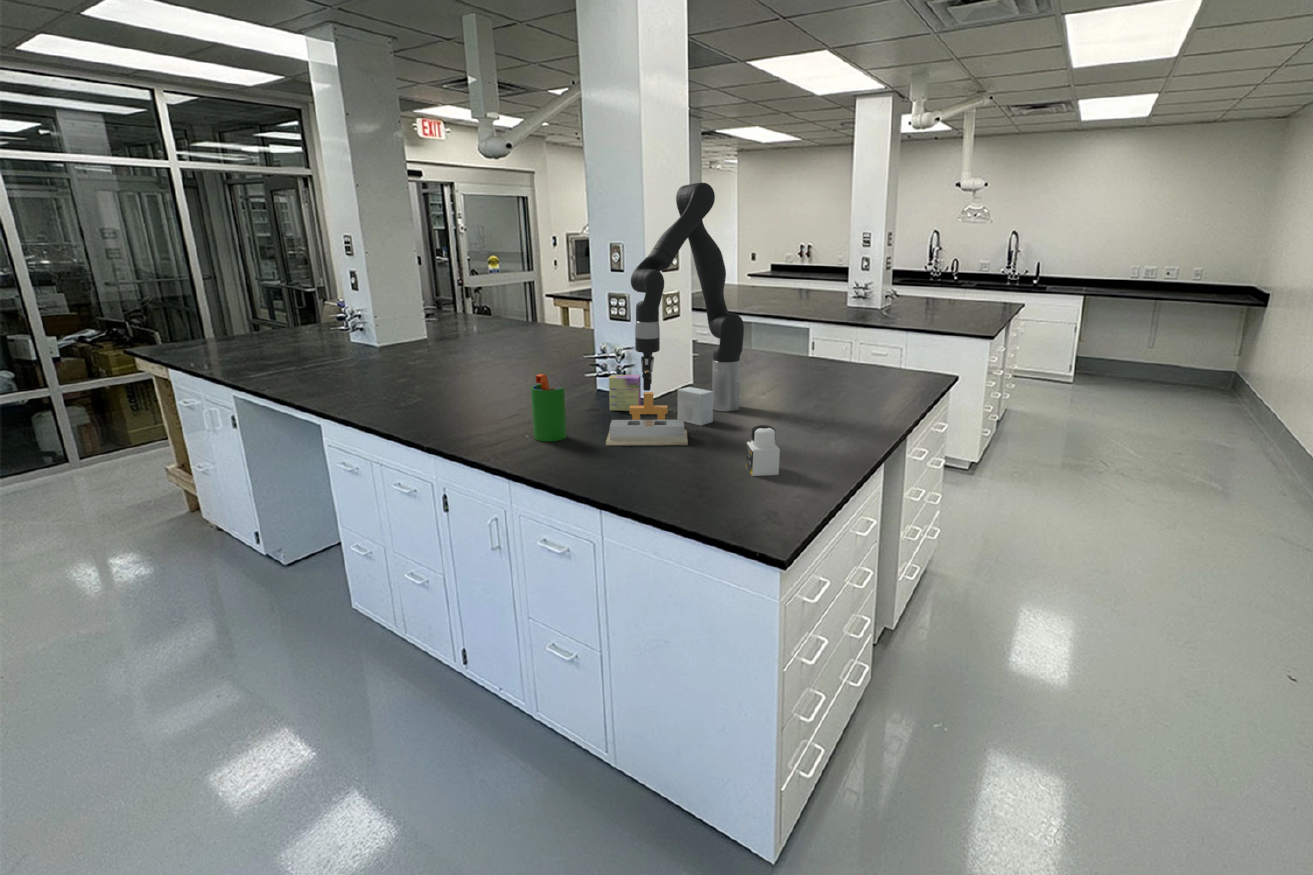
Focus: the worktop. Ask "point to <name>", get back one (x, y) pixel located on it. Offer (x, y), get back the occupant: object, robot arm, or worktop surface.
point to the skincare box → (695, 405)
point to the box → (624, 392)
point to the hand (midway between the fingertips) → (647, 387)
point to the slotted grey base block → (647, 432)
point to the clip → (648, 408)
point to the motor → (548, 411)
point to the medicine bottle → (762, 452)
